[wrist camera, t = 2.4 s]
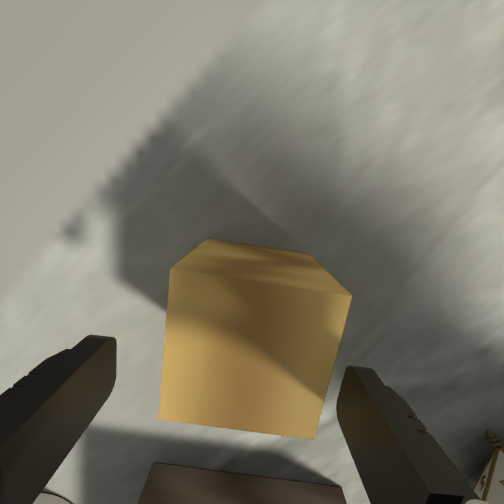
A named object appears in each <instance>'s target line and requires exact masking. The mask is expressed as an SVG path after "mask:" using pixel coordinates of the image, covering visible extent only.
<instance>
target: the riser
mask: <svg viewBox="0 0 504 504" xmlns="http://www.w3.org/2000/svg"><path fill="white" fill-rule="evenodd" d="M138 504H347V503H346V500H345V497H344V494H343V490H342V487H337V486H329V485H321V484H314V483H306V482H298V481H291V480H283V479H275V478H268V477H260V476H252V475H244V474H237V473H229V472H221V471H214V470H206V469H198V468H191V467H183V466H175V465H168V464H160V463H153V465H152V467H151V470H150V472H149V475H148V478H147V480H146V483H145V485H144V488H143V491H142V493H141V496H140V498H139V501H138Z"/></svg>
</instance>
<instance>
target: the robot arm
mask: <svg viewBox="0 0 504 504" xmlns="http://www.w3.org/2000/svg"><path fill="white" fill-rule="evenodd" d="M116 348H117V344H116V339H115V338H114V337H107V336H98V335H88V336H87V337H85V338H84V339H83V340H82V341H80V342H79V343H78V344H77V345H76V346H74V347H73V348H72V349H65V350H63V351H61V352H59V353H57V354H55V355H53V356H51V357H49V358H47V359H46V360H44V361H43V362H42V363H40V364H39V365H38V366H37V367H35V368H34V369H33V370H32V371H30V372H29V374H28V375H27V376H24V377H23V378H21V379H20V380H19V381H18V382H16V383H15V384H14V385H13V387H12V388H9V389H7V390H6V391H5V392H4V393H2V394H1V395H0V504H33V503H34V501H35V500H36V498H37V497H38V496H39V494H40V493H41V491H42V490H43V489H44V487H45V486H46V484H47V483H48V482H49V480H50V479H51V477H52V476H53V475H54V473H55V472H56V470H57V469H58V468H59V466H60V465H61V463H62V462H63V460H64V459H65V458H66V456H67V455H68V453H69V452H70V451H71V449H72V448H73V446H74V445H75V444H76V442H77V441H78V439H79V438H80V437H81V435H82V434H83V432H84V431H85V430H86V428H87V427H88V425H89V424H90V423H91V421H92V420H93V418H94V417H95V416H96V414H97V413H98V411H99V410H100V409H101V407H102V406H103V404H104V403H105V402H106V400H107V399H108V397H109V396H110V394H111V392H112V390H113V387H114V384H115V380H116ZM336 410H337V418H338V422H339V425H340V427H341V430H342V432H343V435H344V437H345V440H346V442H347V445H348V447H349V450H350V452H351V455H352V457H353V460H354V462H355V465H356V468H357V470H358V473H359V475H360V478H361V480H362V483H363V485H364V488H365V490H366V493H367V495H368V498H369V500H370V503H371V504H490V503H488V502H485V501H482V500H481V499H480V498H479V497H478V495H477V494H476V493H475V492H474V490H473V489H472V488H471V486H470V485H469V484H468V482H467V481H466V480H465V478H464V477H463V476H462V475H461V473H460V472H459V471H458V469H457V468H456V467H455V465H454V464H453V463H452V462H451V460H450V459H449V458H448V456H447V455H446V454H445V452H444V451H443V450H442V448H441V447H440V446H439V445H438V443H437V442H436V441H435V439H434V438H433V437H432V435H431V434H428V430H427V429H426V428H425V426H424V425H423V424H422V422H421V421H420V420H418V419H417V416H416V415H415V413H414V412H413V411H412V409H411V408H410V407H409V405H408V404H407V403H406V402H405V400H404V399H402V398H401V397H400V396H399V395H398V394H397V393H395V392H394V391H393V390H392V389H391V388H390V387H388V386H385V385H384V384H383V382H382V381H381V379H380V378H379V377H378V375H377V374H376V373H375V371H374V370H373V369H371V368H365V367H356V366H348V367H347V368H346V370H345V373H344V377H343V381H342V384H341V388H340V392H339V395H338V399H337V406H336Z"/></svg>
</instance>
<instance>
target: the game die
mask: <svg viewBox="0 0 504 504" xmlns="http://www.w3.org/2000/svg"><path fill="white" fill-rule="evenodd" d="M487 439H489V441H490V443H492V444H493V445H494V446H495V450H494V452H493V453H492V455H491V457H490V459H489V460H488V462H487V464H486V466H485V467H484V469H483V471H482V473H481V474H480V476H479V478H478V480H477V481H476V483H475V485H474V487H473V488H472V489H473V490H474V492H475V493H476V494H477V495H478V497H479V498H480V499H481V500H482V501H485V502H488V503H490V504H504V448H503V447H501V446H500V444H499V441H498V440H497V437H496V436H494V435H493V434H491V433H490V432H489V431H487Z"/></svg>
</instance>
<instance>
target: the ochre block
mask: <svg viewBox="0 0 504 504" xmlns="http://www.w3.org/2000/svg"><path fill="white" fill-rule="evenodd" d="M351 300H352V295H351V294H350V293H349V292H348V291H347V290H346V289H345V288H344V287H343V286H342V285H341V284H340V283H339V282H338V281H337V280H336V279H335V278H333V277H332V276H331V275H330V274H329V273H328V272H327V271H326V270H325V269H324V268H323V267H322V266H321V265H320V264H319V263H318V262H317V261H316V260H315V259H314V258H313V257H312V256H311V255H310V254H303V253H297V252H290V251H284V250H277V249H271V248H264V247H258V246H251V245H245V244H238V243H232V242H225V241H219V240H212V239H206V240H204V241H203V242H202V243H201V244H200V245H198V246H197V247H196V248H195V249H194V250H192V251H191V252H190V253H189V254H187V255H186V256H185V257H184V258H183V259H181V260H180V261H179V262H178V263H177V264H175V265H174V266H173V267H172V268H170V277H169V290H168V302H167V314H166V327H165V339H164V352H163V364H162V377H161V389H160V402H159V414H158V419H160V420H168V421H175V422H183V423H190V424H198V425H205V426H213V427H221V428H228V429H236V430H243V431H251V432H258V433H266V434H273V435H281V436H289V437H296V438H304V439H311V440H314V437H315V434H316V430H317V426H318V423H319V419H320V415H321V411H322V408H323V404H324V400H325V396H326V393H327V389H328V385H329V382H330V378H331V374H332V370H333V367H334V363H335V359H336V356H337V352H338V348H339V344H340V341H341V337H342V333H343V329H344V326H345V322H346V318H347V315H348V311H349V307H350V303H351Z"/></svg>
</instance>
